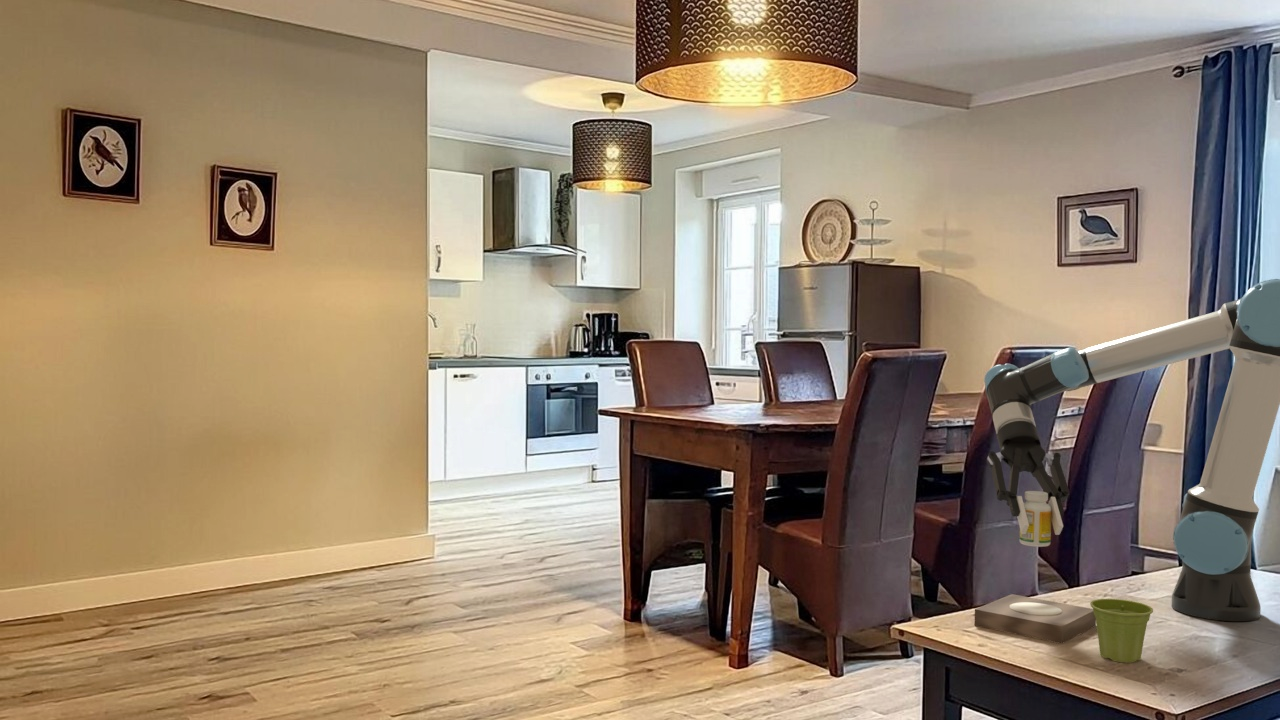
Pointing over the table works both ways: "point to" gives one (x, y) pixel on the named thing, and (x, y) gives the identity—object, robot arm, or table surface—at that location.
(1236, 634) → the table surface
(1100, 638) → the plant pot
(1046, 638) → the walnut plinth
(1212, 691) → the table surface
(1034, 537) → the supplement bottle
